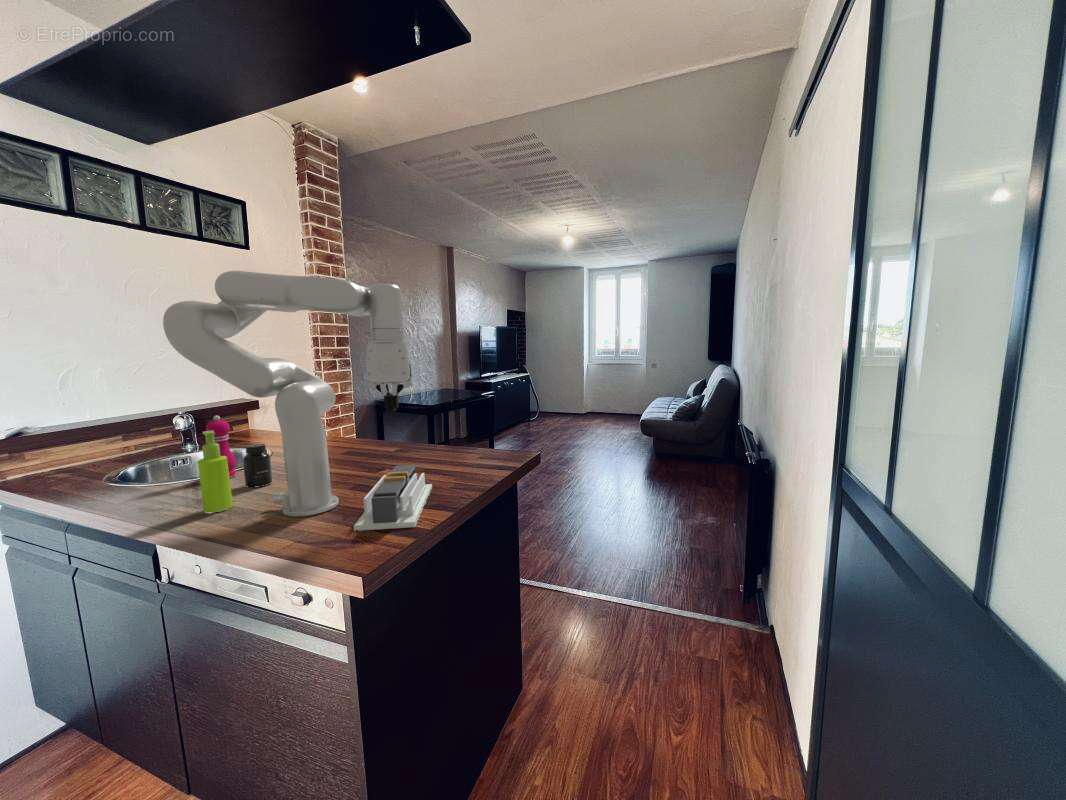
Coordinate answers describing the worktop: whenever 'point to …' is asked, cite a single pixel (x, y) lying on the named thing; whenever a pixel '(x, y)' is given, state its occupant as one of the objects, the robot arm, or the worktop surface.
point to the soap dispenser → (214, 476)
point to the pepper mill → (222, 441)
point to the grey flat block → (390, 486)
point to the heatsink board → (395, 506)
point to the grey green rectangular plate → (402, 471)
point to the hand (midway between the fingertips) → (391, 410)
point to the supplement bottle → (257, 466)
